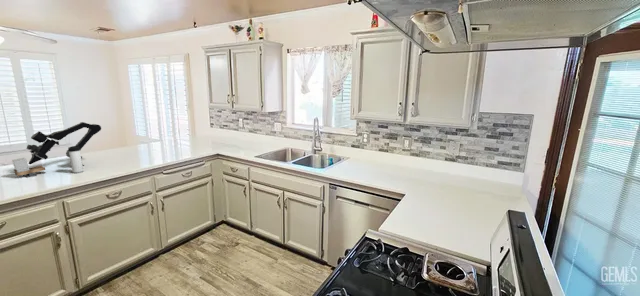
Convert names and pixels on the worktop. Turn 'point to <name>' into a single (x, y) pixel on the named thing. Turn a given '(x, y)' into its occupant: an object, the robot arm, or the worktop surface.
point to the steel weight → (20, 165)
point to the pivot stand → (30, 174)
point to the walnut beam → (30, 170)
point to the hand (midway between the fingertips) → (29, 164)
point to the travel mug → (75, 159)
